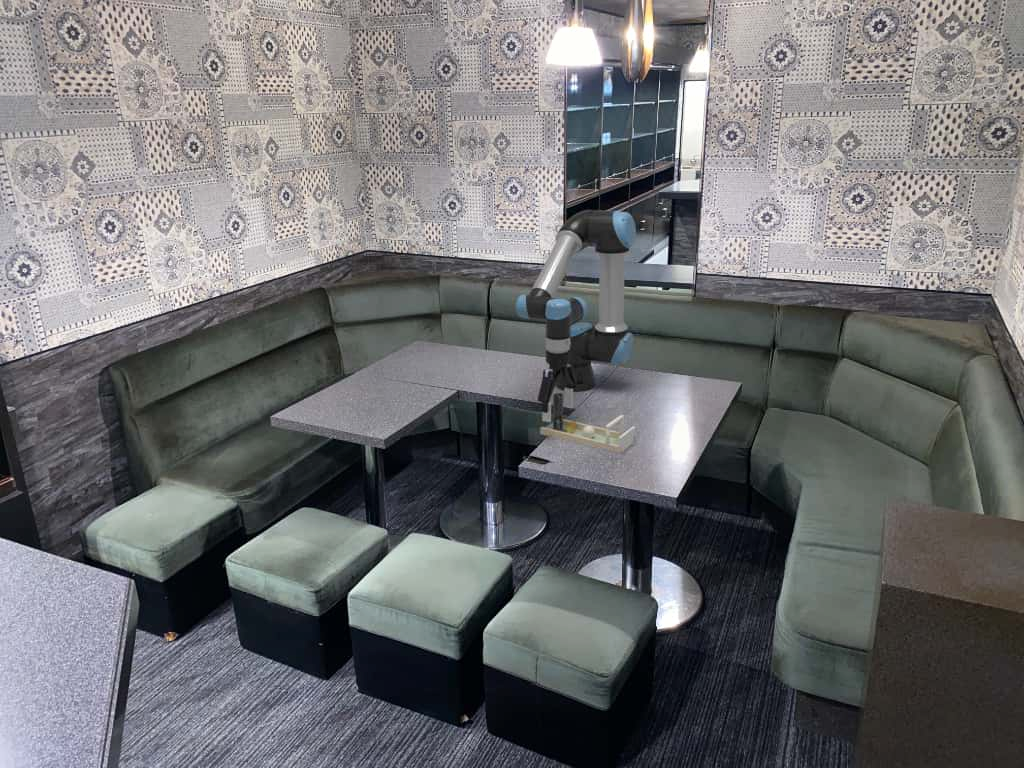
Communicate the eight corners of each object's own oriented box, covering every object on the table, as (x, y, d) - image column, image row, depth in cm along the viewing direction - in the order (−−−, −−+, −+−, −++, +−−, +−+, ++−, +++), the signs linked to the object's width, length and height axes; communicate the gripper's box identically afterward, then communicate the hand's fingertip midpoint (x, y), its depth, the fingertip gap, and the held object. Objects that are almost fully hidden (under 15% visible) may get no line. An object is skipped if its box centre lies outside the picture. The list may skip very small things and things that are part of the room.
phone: (521, 457, 232) (546, 439, 244) (521, 460, 233) (546, 442, 244) (544, 462, 228) (568, 444, 240) (544, 466, 229) (568, 447, 241)
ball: (579, 438, 243) (579, 426, 241) (585, 434, 246) (585, 422, 244) (590, 441, 241) (591, 429, 239) (597, 437, 244) (597, 425, 242)
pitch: (540, 437, 247) (539, 410, 244) (556, 426, 255) (556, 400, 252) (620, 457, 232) (620, 429, 229) (634, 445, 240) (636, 418, 237)
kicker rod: (543, 431, 248) (542, 396, 244) (553, 424, 253) (553, 389, 249) (566, 436, 244) (566, 401, 240) (576, 429, 249) (577, 394, 245)
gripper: (547, 363, 228) (547, 429, 235) (588, 341, 248) (587, 404, 255) (525, 358, 232) (526, 424, 239) (567, 338, 251) (567, 399, 259)
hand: (557, 414), depth 247 cm, fingers open, 13 cm apart
